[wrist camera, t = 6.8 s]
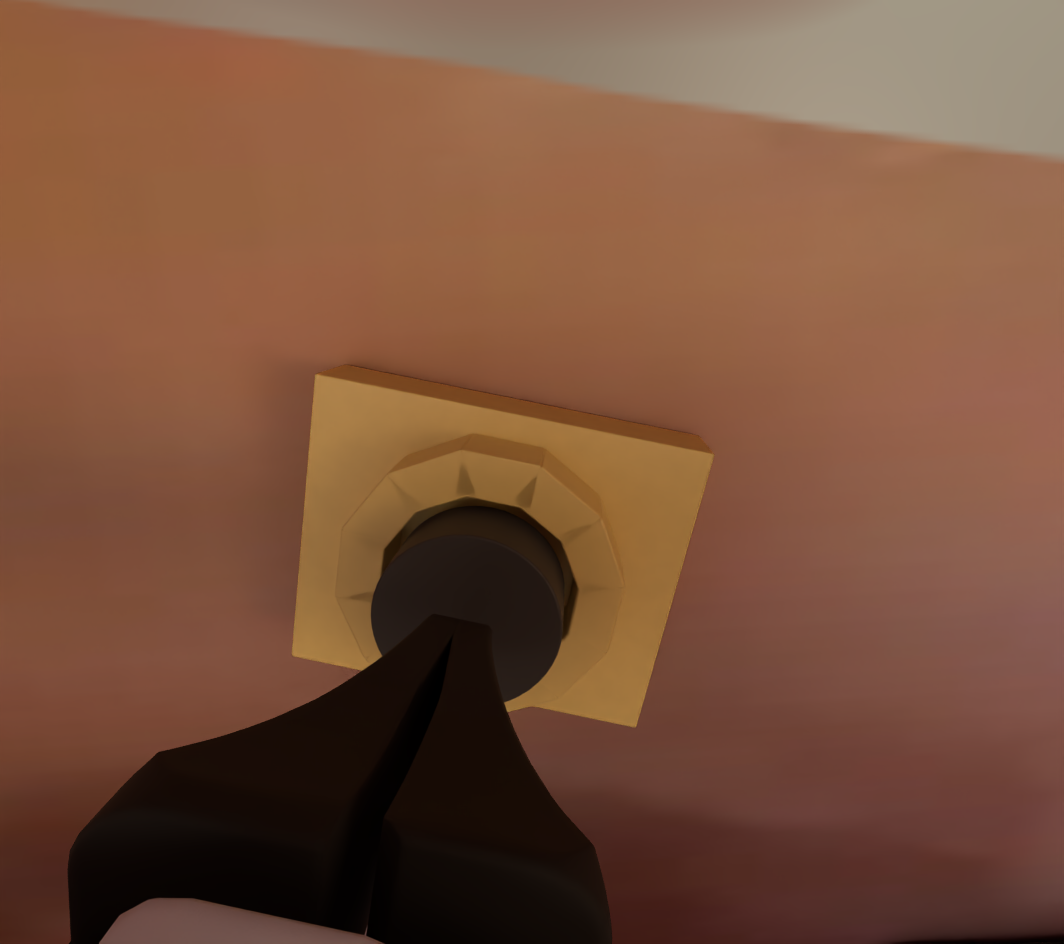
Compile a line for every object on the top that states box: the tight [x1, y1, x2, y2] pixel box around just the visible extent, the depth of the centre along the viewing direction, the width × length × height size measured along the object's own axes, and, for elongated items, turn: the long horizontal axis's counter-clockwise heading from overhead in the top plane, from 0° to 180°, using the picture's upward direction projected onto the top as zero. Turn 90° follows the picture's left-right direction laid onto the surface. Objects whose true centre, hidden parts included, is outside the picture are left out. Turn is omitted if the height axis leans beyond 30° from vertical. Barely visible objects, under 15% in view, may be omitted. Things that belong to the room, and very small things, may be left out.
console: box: [292, 365, 714, 728], centre depth 18 cm, size 11×9×4 cm
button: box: [371, 506, 564, 702], centre depth 15 cm, size 5×5×2 cm
